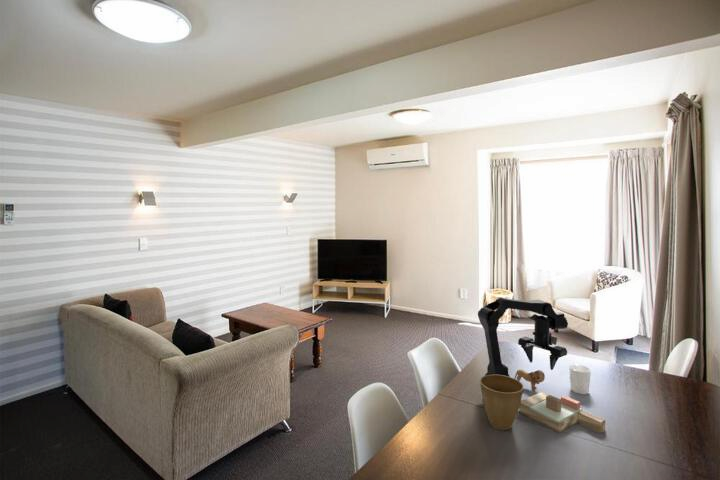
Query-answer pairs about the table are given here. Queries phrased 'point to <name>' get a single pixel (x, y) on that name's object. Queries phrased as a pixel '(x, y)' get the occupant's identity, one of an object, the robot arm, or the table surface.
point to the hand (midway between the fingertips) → (541, 365)
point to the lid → (554, 409)
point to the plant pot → (501, 399)
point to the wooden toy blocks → (580, 417)
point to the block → (570, 402)
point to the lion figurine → (531, 377)
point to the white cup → (579, 378)
